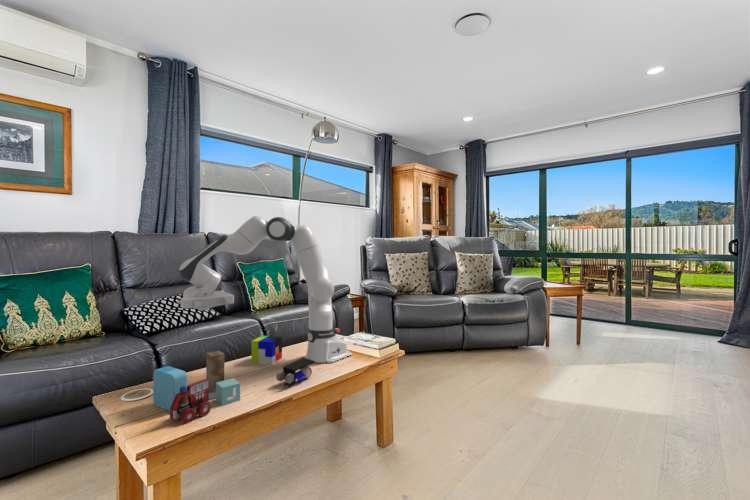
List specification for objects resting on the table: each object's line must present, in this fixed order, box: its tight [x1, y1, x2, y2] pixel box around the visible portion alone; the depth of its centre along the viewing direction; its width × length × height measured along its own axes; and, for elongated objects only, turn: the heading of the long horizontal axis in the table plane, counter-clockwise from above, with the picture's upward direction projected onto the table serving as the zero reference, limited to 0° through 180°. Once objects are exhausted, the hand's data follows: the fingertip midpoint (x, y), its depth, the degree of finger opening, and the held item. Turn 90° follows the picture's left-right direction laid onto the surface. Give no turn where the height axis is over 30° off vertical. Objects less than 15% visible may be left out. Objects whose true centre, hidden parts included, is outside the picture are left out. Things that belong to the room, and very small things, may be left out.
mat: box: [209, 390, 216, 401], centre depth 135 cm, size 10×16×1 cm, turn 43°
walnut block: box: [205, 350, 225, 392], centre depth 135 cm, size 4×6×13 cm
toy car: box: [275, 357, 316, 388], centre depth 143 cm, size 7×8×15 cm
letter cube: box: [215, 378, 241, 406], centre depth 126 cm, size 6×6×6 cm
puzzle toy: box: [250, 335, 283, 365], centre depth 169 cm, size 10×10×10 cm
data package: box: [152, 365, 188, 412], centre depth 121 cm, size 12×4×12 cm, turn 59°
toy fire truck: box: [169, 378, 212, 424], centre depth 114 cm, size 7×12×10 cm, turn 148°
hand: (214, 303), depth 146 cm, fingers open, 8 cm apart
